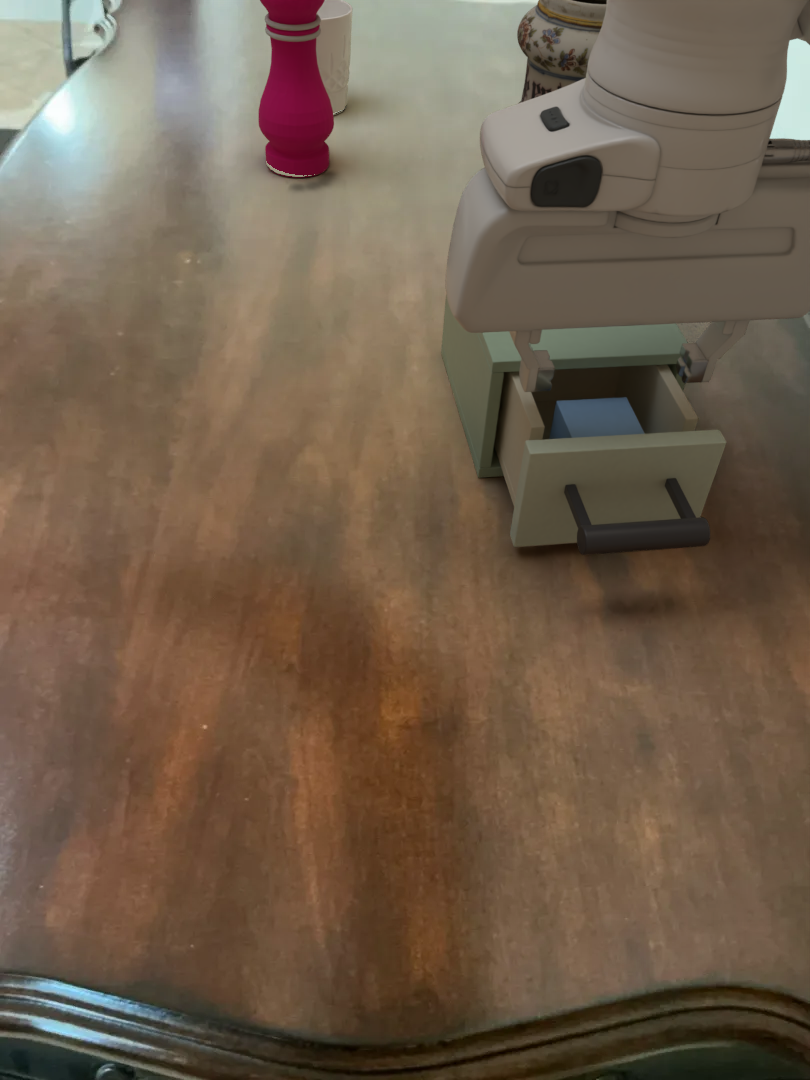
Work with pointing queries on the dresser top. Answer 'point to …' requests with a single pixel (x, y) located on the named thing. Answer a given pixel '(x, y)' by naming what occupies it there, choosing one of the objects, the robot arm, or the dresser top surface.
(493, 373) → the green drawer cabinet
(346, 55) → the white cup
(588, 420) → the slate blue block
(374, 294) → the dresser top surface
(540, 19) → the apothecary jar
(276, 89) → the pepper mill
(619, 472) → the drawer
